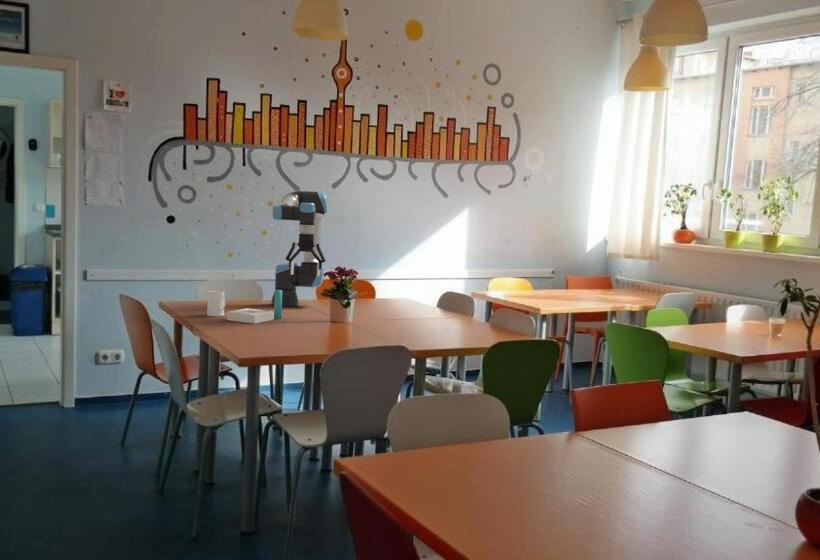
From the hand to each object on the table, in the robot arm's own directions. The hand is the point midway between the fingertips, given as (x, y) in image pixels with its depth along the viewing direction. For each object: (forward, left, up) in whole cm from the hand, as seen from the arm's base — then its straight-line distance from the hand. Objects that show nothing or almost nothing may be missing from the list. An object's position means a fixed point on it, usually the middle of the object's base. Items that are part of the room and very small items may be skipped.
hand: (305, 275), depth 411 cm
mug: (-34, -26, -21) cm, 48 cm away
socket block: (-14, -26, -21) cm, 36 cm away
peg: (-7, -13, -21) cm, 26 cm away
